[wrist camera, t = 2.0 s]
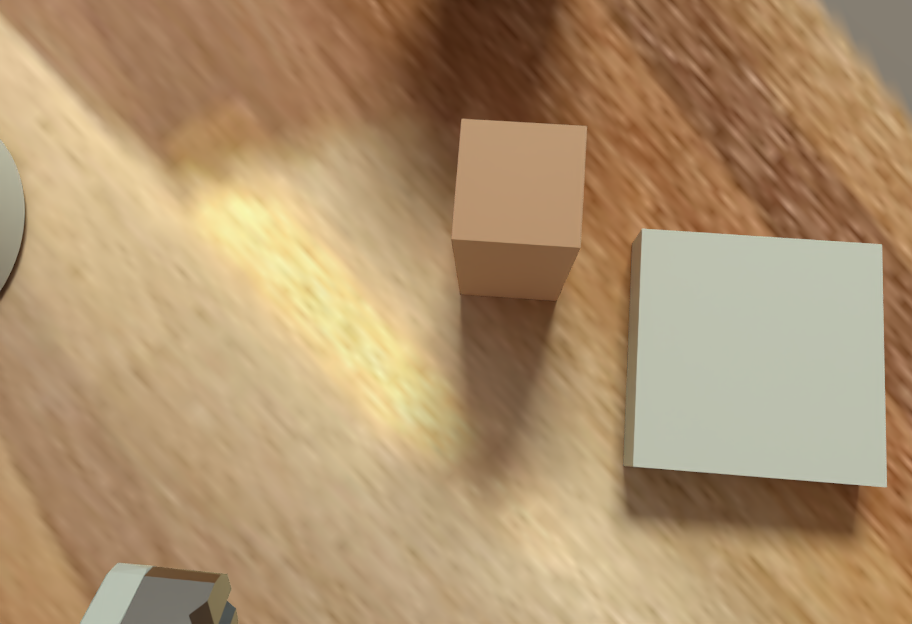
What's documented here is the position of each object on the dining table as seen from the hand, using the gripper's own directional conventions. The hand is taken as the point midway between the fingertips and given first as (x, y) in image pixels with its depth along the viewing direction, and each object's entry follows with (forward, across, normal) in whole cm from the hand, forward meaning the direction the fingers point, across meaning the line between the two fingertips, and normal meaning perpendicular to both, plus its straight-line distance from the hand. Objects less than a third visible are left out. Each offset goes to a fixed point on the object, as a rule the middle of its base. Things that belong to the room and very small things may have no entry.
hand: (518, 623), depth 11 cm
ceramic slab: (+24, -11, +13) cm, 30 cm away
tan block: (+28, 0, +10) cm, 29 cm away
